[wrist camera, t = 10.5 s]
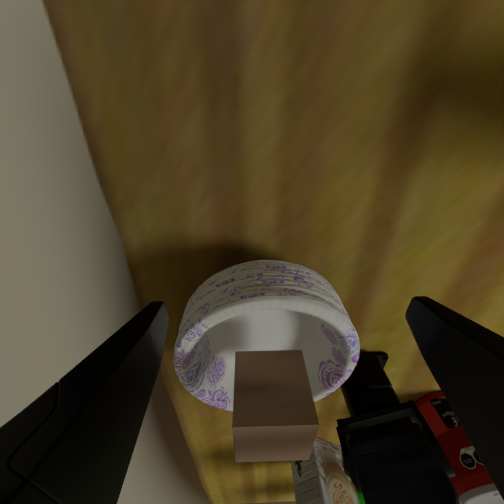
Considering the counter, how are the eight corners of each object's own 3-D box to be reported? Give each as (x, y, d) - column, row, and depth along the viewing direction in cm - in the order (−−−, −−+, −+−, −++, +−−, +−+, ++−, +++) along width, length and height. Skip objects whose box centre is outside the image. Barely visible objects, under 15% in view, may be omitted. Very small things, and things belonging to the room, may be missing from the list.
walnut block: (295, 387, 21) (308, 460, 17) (237, 388, 21) (235, 462, 17) (301, 349, 18) (319, 424, 14) (235, 351, 18) (232, 427, 14)
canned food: (474, 392, 37) (552, 490, 28) (439, 417, 41) (497, 511, 32) (432, 385, 36) (499, 486, 26) (400, 412, 40) (449, 508, 30)
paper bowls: (344, 326, 29) (375, 395, 22) (227, 359, 31) (223, 430, 25) (311, 216, 21) (342, 269, 14) (161, 272, 24) (128, 338, 17)
